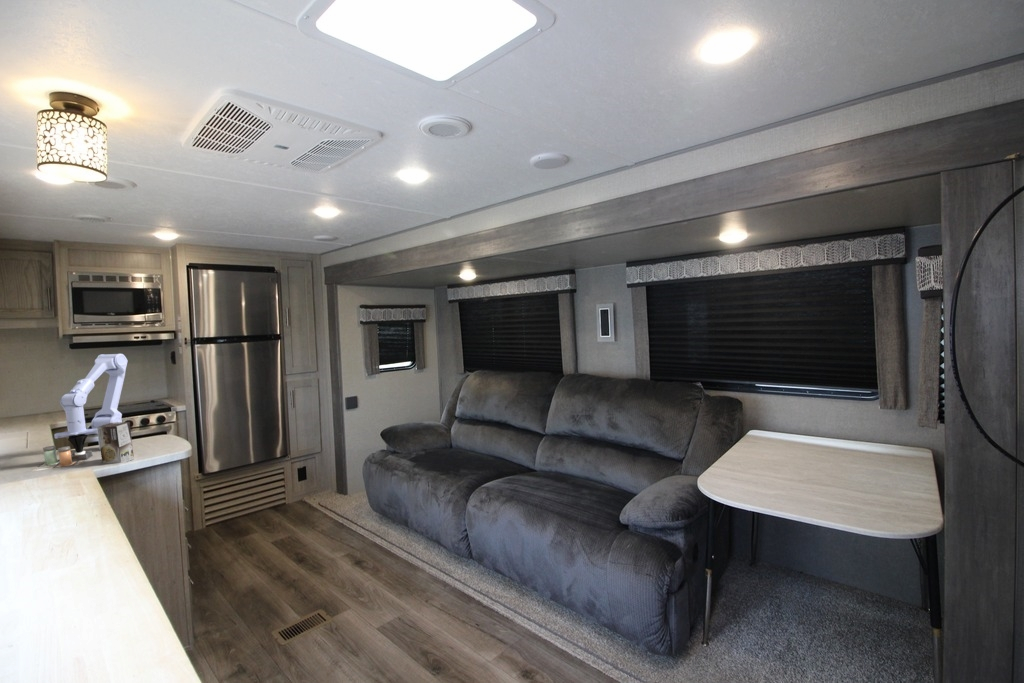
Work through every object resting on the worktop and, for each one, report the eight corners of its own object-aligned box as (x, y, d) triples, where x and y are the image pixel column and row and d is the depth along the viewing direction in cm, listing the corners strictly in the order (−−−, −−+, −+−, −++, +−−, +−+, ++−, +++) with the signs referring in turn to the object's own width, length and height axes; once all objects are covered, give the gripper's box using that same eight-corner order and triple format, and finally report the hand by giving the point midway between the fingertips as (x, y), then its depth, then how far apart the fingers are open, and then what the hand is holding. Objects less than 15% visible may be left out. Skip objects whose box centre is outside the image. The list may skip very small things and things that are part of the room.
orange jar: (74, 461, 200) (71, 445, 199) (70, 464, 197) (67, 448, 196) (62, 463, 198) (60, 447, 198) (58, 466, 195) (56, 450, 194)
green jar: (59, 461, 202) (57, 445, 201) (55, 463, 199) (52, 447, 198) (47, 462, 200) (45, 446, 200) (43, 465, 197) (41, 449, 196)
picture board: (92, 457, 208) (91, 450, 208) (79, 466, 196) (78, 459, 196) (45, 463, 202) (44, 456, 202) (28, 473, 190) (27, 466, 190)
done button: (87, 456, 207) (86, 450, 206) (84, 459, 203) (83, 452, 203) (77, 458, 205) (76, 451, 205) (74, 460, 202) (73, 453, 202)
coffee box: (135, 458, 204) (130, 421, 202) (121, 464, 197) (116, 426, 196) (115, 459, 204) (111, 422, 203) (101, 464, 198) (96, 426, 197)
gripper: (49, 425, 196) (53, 457, 197) (93, 420, 202) (97, 452, 203) (57, 421, 203) (61, 452, 204) (100, 417, 208) (103, 447, 210)
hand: (79, 452), depth 204 cm, fingers closed, pressing on done button
